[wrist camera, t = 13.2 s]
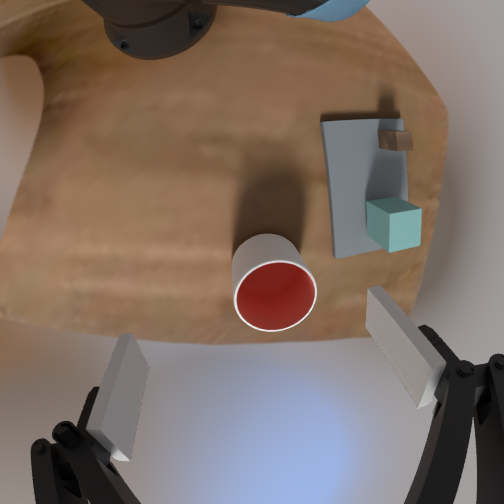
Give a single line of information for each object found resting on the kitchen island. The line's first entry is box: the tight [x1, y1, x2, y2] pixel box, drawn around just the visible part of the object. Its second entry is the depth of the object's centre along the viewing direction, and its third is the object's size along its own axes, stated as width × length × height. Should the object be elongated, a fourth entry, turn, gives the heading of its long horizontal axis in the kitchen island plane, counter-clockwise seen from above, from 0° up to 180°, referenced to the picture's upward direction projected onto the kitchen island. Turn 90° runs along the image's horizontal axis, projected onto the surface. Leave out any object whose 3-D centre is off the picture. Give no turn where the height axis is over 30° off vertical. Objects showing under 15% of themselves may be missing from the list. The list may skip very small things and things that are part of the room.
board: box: [320, 119, 408, 259], centre depth 40 cm, size 20×13×1 cm, turn 9°
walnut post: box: [378, 130, 413, 151], centre depth 34 cm, size 3×3×5 cm
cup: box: [231, 234, 317, 331], centre depth 39 cm, size 10×10×10 cm
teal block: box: [366, 197, 422, 253], centre depth 37 cm, size 5×5×7 cm
